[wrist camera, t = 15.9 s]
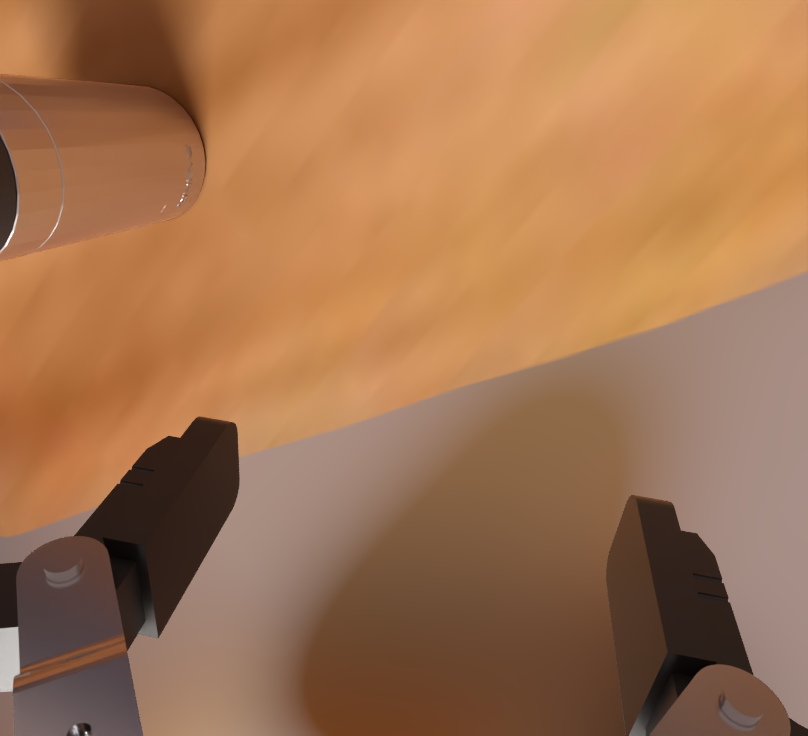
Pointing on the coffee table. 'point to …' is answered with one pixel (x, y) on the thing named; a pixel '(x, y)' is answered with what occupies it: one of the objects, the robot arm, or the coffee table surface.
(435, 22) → the coffee table surface
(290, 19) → the coffee table surface
